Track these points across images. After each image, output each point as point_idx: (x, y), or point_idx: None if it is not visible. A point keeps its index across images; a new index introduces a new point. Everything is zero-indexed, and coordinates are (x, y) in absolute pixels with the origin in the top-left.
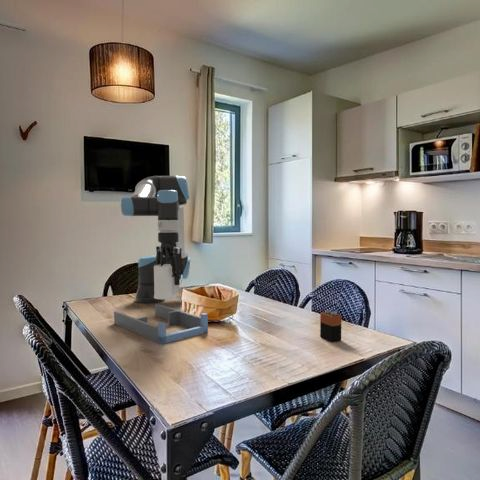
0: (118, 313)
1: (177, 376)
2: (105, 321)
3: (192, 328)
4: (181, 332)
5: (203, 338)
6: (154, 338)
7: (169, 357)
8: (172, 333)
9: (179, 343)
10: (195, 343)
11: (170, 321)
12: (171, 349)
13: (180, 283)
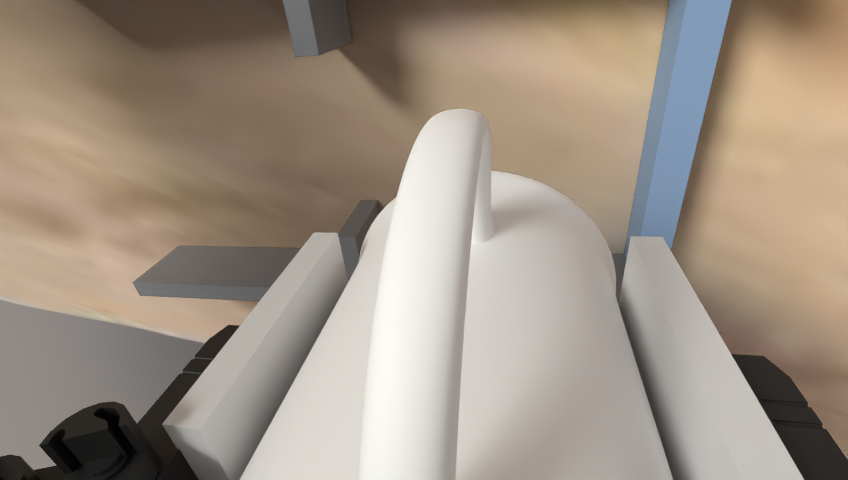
0: (187, 297)
1: None
2: (130, 267)
3: (692, 45)
4: (691, 162)
5: (817, 19)
6: None
7: (841, 332)
8: (657, 214)
9: (730, 199)
10: (832, 130)
11: (342, 37)
12: (764, 275)
13: (490, 149)
